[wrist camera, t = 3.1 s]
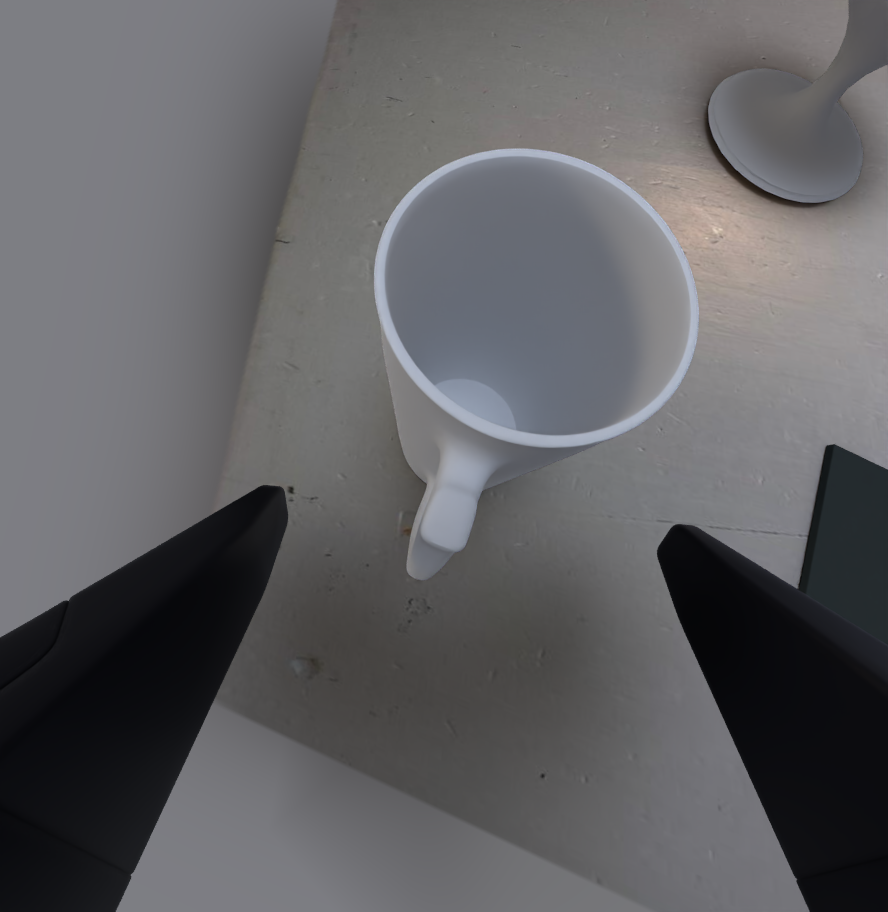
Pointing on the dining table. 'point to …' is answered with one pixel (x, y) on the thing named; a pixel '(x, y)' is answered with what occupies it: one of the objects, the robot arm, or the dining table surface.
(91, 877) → the robot arm
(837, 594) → the mat
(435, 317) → the mug
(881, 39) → the chalice
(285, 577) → the dining table surface
